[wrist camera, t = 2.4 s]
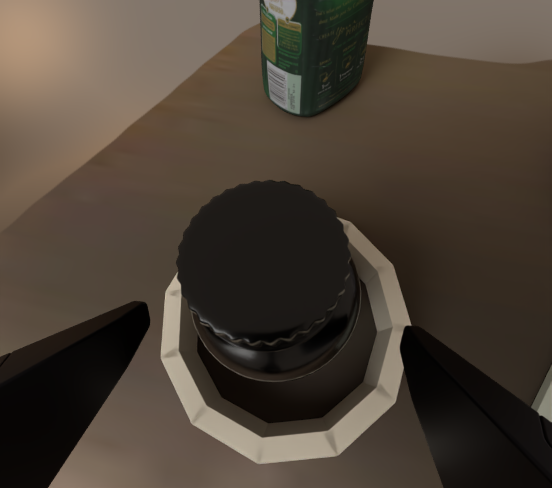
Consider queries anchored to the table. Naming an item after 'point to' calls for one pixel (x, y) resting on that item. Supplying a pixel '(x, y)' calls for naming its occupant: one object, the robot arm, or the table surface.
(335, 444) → the ring holder
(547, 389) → the mat
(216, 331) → the supplement bottle
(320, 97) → the coffee jar
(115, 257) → the table surface
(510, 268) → the table surface
